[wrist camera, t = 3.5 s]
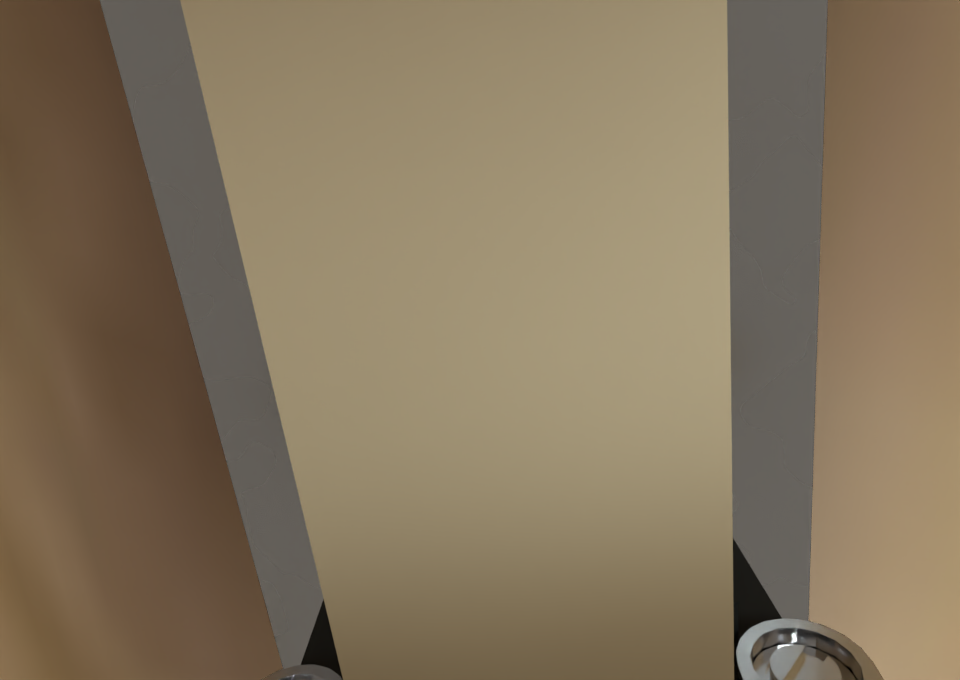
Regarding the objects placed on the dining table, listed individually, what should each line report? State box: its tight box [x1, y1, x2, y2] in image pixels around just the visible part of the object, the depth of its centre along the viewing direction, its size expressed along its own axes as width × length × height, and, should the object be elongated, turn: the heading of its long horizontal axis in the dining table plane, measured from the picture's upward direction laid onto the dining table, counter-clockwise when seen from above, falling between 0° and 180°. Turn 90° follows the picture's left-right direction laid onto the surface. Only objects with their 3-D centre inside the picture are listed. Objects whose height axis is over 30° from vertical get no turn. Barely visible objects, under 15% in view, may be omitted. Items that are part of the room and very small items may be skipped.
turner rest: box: [100, 0, 828, 669], centre depth 12 cm, size 22×10×1 cm, turn 7°
